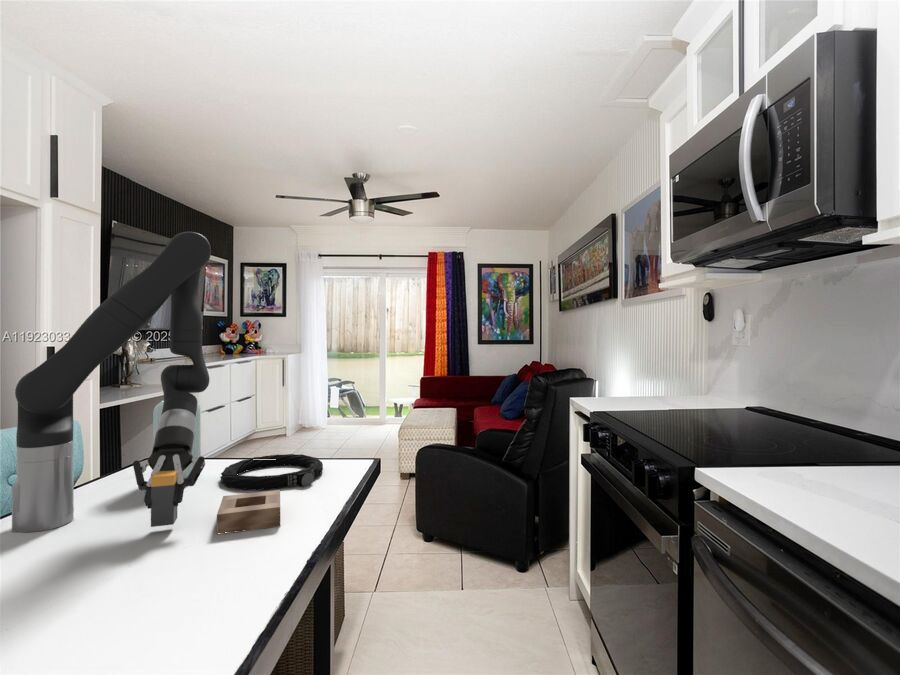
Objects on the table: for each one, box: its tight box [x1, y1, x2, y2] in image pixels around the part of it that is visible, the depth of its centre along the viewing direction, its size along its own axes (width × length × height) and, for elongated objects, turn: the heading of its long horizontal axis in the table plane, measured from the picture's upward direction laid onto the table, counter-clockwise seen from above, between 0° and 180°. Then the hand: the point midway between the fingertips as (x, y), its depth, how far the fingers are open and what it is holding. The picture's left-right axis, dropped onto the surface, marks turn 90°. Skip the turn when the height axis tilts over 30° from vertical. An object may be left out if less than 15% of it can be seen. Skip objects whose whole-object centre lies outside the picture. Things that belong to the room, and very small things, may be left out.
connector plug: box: [150, 470, 179, 528], centre depth 97 cm, size 4×4×10 cm
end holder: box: [216, 489, 281, 534], centre depth 103 cm, size 12×12×4 cm
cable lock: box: [220, 453, 324, 491], centre depth 136 cm, size 28×4×30 cm
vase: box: [152, 399, 202, 479], centre depth 133 cm, size 12×12×22 cm
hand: (162, 505), depth 96 cm, fingers closed on connector plug, 4 cm apart
